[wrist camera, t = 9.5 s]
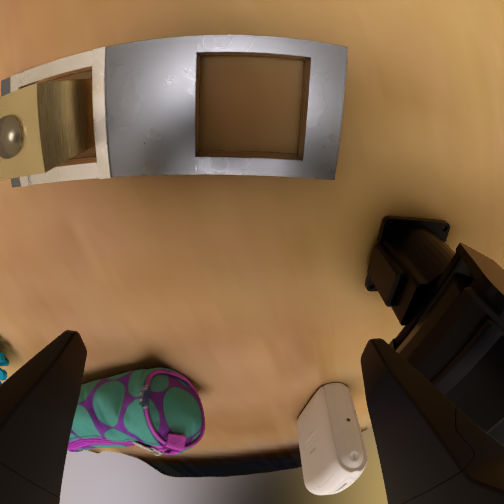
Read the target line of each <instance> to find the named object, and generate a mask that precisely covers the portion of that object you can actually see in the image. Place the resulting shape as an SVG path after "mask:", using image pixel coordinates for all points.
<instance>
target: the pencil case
mask: <svg viewBox="0 0 504 504" xmlns="http://www.w3.org/2000/svg"><path fill="white" fill-rule="evenodd" d="M204 430H205V417H204V411H203V407H202V403H201V400H200V397H199V395H198V393H197V391H196V389H195V387H194V386H193V385H192V383H191V382H190V381H189V380H188V379H187V378H186V377H185V376H184V375H182V374H181V373H179V372H177V371H175V370H172V369H168V368H151V369H139V370H133V371H128V372H125V373H122V374H119V375H115V376H111V377H107V378H103V379H98V380H95V381H91V382H88V383H86V384H82V385H81V391H80V396H79V400H78V404H77V408H76V412H75V416H74V420H73V425H72V429H71V434H70V439H69V443H68V449H67V450H69V451H71V452H79V451H83V450H89V449H92V448H106V447H126V446H133V445H136V446H139V447H141V448H143V449H146V450H148V451H151V452H153V454H154V455H156V456H160V455H161V454H166V455H171V454H179V453H182V452H184V451H186V450H188V449H190V448H192V447H193V446H195V445H196V444H197V443H198V442H199V441H200V440H201V438H202V436H203V434H204ZM155 452H156V453H155Z"/></svg>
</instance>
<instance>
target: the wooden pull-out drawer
mask: <svg viewBox="0 0 504 504" xmlns="http://www.w3.org/2000/svg"><path fill="white" fill-rule="evenodd" d="M93 146H95V136H94V121H93V97H92V79H81V80H64V81H52V82H42V83H35V84H33V85H30V86H27V87H24V88H22V89H19V90H16V91H14V92H11V93H9V94H6V95H4V96H2V97H0V181H1V180H6V179H12V178H17V177H23V176H29V175H35V174H42V173H46V172H48V171H49V170H51V169H53V168H54V167H56V166H58V165H60V164H61V163H63V162H65V161H67V160H69V159H70V158H72V157H74V156H76V155H78V154H80V153H82V152H84V151H86V150H87V149H89V148H91V147H93Z"/></svg>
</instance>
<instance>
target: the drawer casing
mask: <svg viewBox="0 0 504 504" xmlns="http://www.w3.org/2000/svg"><path fill="white" fill-rule="evenodd" d="M347 49H348V47H345V46H340V45H334V44H329V43H323V42H316V41H309V40H302V39H293V38H284V37H272V36H256V35H197V36H181V37H169V38H160V39H151V40H144V41H137V42H131V43H125V44H119V45H114V46H109V47H102V48H97V49H93V50H91V51H87V52H83V53H79V54H76V55H72V56H68V57H65V58H62V59H58V60H55V61H52V62H49V63H46V64H43V65H40V66H37V67H35V68H32V69H29V70H26V71H24V72H21V73H17V74H15V75H13V76H10V77H9V78H7V79H5V80H2V81H1V95H2V96H4V95H6V94H9V93H11V92H14V91H16V90H19V89H22V88H24V87H27V86H30V85H33V84H35V83H42V82H46V81H49V80H52V79H56V78H59V77H63V76H67V75H70V74H74V73H78V72H83V71H87V70H91V69H92V97H93V121H94V136H95V147H96V157H87V158H78V159H70V160H67V161H65V162H63V163H61V164H60V165H58V166H56V167H54V168H53V169H51V170H49V171H48V172H46V173H42V174H35V175H29V176H23V177H17V178H12V179H11V183H12V187H18V186H21V187H24V186H29V185H33V184H41V183H50V182H60V181H70V180H81V179H93V178H99V179H106V178H111V177H124V176H146V175H190V174H216V175H260V176H283V177H301V178H316V179H329V180H334V179H335V172H336V165H337V157H338V149H339V141H340V132H341V123H342V113H343V103H344V92H345V80H346V66H347ZM216 55H233V56H262V57H276V58H288V59H297V60H304V75H303V90H302V104H301V117H300V130H299V142H298V153H297V154H290V153H273V152H250V151H199V113H200V67H201V56H216Z"/></svg>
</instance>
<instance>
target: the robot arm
mask: <svg viewBox="0 0 504 504" xmlns="http://www.w3.org/2000/svg"><path fill="white" fill-rule="evenodd" d="M389 222H391V223H390V225H387V224H388V223H389ZM444 227H445V228H444ZM443 228H444V229H443ZM449 229H450V225H449V224H448V223H447V222H446V221H439V220H429V219H418V218H407V217H395V216H387V217H385V218H384V219H383V221H382V225H381V229H380V233H379V237H378V240H377V243H376V244H375V246H374V250H373V254H372V257H371V261H370V264H369V268H368V271H367V272H368V276H367V279H366V282H365V287H366V289H367V290H368V291H378V292H379V294H380V295H381V297H382V299H383V301H384V303H385V304H386V306H387V307H392V309H393V311H394V313H395V315H396V317H397V318H398V320H399V322H400V324H401V325H403V326H404V325H406V326H405V327H404V328H403V329H402V331H401V332H400V333H399V334H398V336H397V337H396V338H395V339H393V340H392V341H391V342H390V344H388V343H386V342H385V341H384V340H383V339H380V338H378V339H370V340H369V341H368V343H367V345H366V347H365V349H364V351H363V354H362V356H361V367H362V374H363V380H364V387H365V395H366V401H367V407H368V411H369V415H370V419H371V423H372V428H373V432H374V436H375V440H376V445H377V449H378V454H379V459H380V464H381V468H382V473H383V479H384V483H385V489H386V495H387V500H388V504H504V270H503V269H502V268H501V267H500V266H499V265H498V264H497V263H496V262H494V261H493V260H492V259H490V258H488V257H486V256H484V255H483V254H481V253H479V252H477V251H475V250H474V249H472V248H470V247H468V246H466V245H464V244H462V243H459V245H458V246H457V248H456V253H455V252H454V251H453V250H452V249H451V248H450V247H449V246H448V245H447V244H446V243H445V241H446V238H447V235H448V232H449ZM371 284H373V285H371ZM370 285H371V286H370ZM86 357H87V350H86V347H85V345H84V343H83V340H82V338H81V336H80V334H79V333H78V332H77V331H71V330H66V331H65V332H63V333H62V334H61V335H60V336H58V337H57V338H56V339H55V340H53V341H52V342H51V343H50V344H49V345H47V346H46V347H45V348H44V349H42V350H41V351H40V352H39V353H38V354H36V355H35V356H34V357H33V358H32V359H30V360H29V361H28V362H27V363H26V364H25V365H23V366H22V367H21V368H20V369H19V370H18V371H16V372H15V373H14V374H13V375H12V376H11V377H9V378H8V379H7V380H6V381H5V382H4V383H3V384H1V385H0V504H59V502H60V492H61V484H62V477H63V471H64V465H65V459H66V454H67V449H68V443H69V439H70V434H71V429H72V425H73V420H74V416H75V412H76V408H77V404H78V400H79V396H80V391H81V385H82V379H83V373H84V367H85V362H86Z"/></svg>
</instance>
